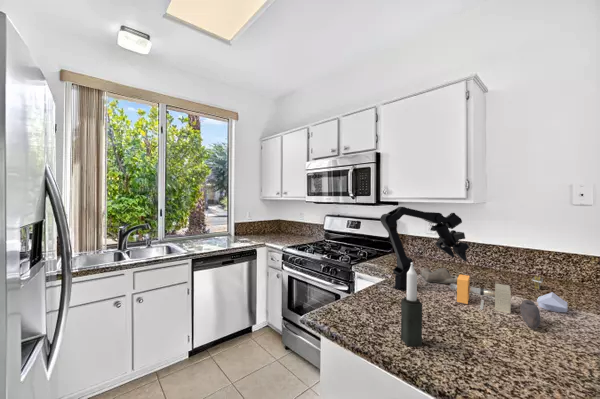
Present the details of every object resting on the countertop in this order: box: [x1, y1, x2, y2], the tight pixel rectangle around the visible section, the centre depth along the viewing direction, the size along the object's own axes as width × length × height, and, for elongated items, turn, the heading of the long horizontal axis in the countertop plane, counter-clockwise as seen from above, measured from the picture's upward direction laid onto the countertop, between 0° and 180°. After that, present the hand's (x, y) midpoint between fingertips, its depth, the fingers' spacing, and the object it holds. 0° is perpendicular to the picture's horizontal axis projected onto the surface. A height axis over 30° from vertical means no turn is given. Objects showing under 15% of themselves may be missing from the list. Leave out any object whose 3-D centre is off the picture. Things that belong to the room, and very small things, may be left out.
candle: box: [400, 262, 423, 347], centre depth 83 cm, size 5×5×25 cm
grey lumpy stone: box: [420, 267, 458, 285], centre depth 147 cm, size 16×9×15 cm
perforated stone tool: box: [519, 299, 541, 330], centre depth 97 cm, size 15×5×7 cm, turn 144°
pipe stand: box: [449, 282, 512, 314], centre depth 116 cm, size 22×13×9 cm, turn 54°
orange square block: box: [456, 274, 471, 305], centre depth 119 cm, size 4×10×10 cm, turn 144°
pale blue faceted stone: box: [536, 291, 568, 313], centre depth 111 cm, size 9×7×13 cm
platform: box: [531, 274, 544, 290], centre depth 140 cm, size 12×18×7 cm, turn 135°
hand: (459, 258), depth 138 cm, fingers open, 9 cm apart
